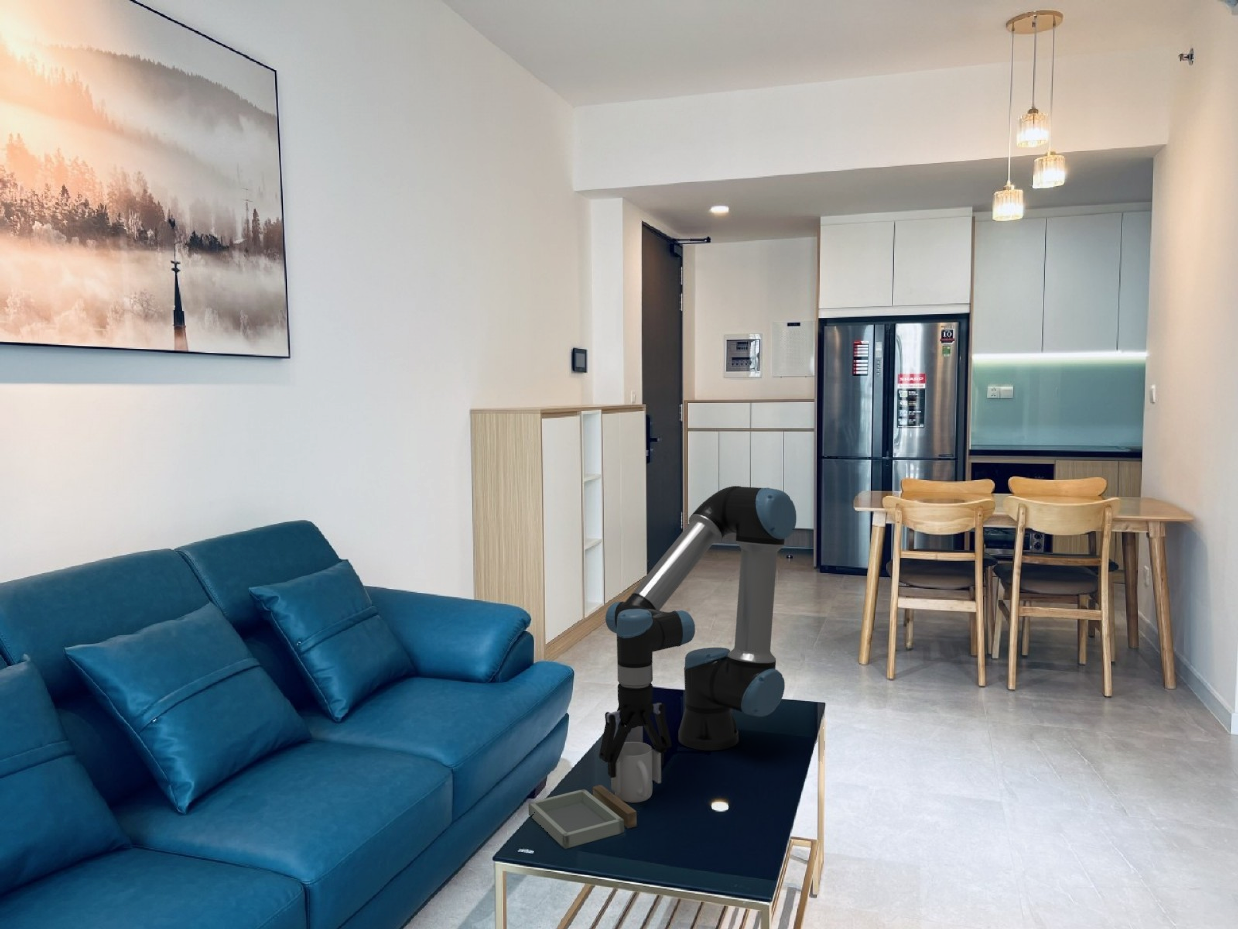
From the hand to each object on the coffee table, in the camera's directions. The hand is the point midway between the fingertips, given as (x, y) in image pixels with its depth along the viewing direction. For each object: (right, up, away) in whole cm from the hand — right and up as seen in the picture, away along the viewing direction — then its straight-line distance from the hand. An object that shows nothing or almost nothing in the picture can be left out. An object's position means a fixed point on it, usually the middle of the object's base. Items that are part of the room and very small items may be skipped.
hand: (636, 786), depth 188 cm
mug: (0, -3, 0) cm, 3 cm away
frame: (-13, -4, -11) cm, 17 cm away
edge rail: (-5, -3, -7) cm, 9 cm away
